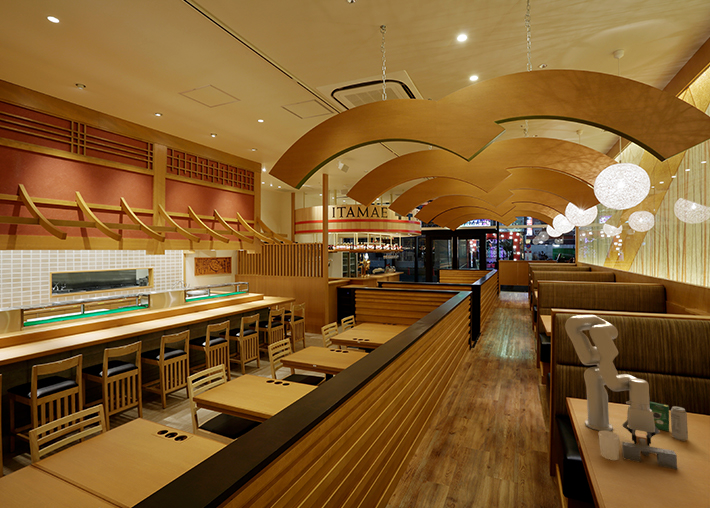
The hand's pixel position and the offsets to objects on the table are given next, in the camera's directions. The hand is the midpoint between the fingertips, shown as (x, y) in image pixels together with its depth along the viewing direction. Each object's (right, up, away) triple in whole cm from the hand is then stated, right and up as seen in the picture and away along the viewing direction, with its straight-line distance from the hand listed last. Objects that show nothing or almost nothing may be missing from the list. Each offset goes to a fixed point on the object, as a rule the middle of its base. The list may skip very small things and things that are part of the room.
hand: (641, 443), depth 173 cm
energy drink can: (+24, -1, +6) cm, 25 cm away
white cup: (-21, -2, -9) cm, 23 cm away
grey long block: (-8, -1, -14) cm, 16 cm away
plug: (-2, -1, -3) cm, 4 cm away
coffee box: (+24, -2, +17) cm, 29 cm away
